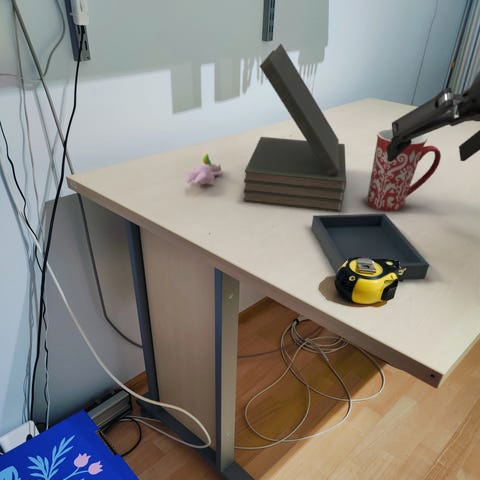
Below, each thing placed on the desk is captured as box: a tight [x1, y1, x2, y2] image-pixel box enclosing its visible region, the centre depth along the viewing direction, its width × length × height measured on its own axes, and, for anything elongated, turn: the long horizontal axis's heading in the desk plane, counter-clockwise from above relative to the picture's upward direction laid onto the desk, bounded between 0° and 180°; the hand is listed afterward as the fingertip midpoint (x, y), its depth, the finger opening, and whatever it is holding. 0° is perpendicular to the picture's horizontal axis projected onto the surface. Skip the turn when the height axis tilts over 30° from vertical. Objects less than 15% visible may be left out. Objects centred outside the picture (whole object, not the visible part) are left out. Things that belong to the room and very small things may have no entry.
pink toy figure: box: [185, 153, 223, 186], centre depth 90 cm, size 6×6×15 cm
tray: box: [310, 213, 431, 281], centre depth 71 cm, size 14×18×3 cm
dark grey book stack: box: [242, 43, 347, 213], centre depth 85 cm, size 23×20×25 cm
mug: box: [366, 128, 442, 212], centre depth 83 cm, size 13×9×14 cm
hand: (425, 154), depth 74 cm, fingers open, 13 cm apart
